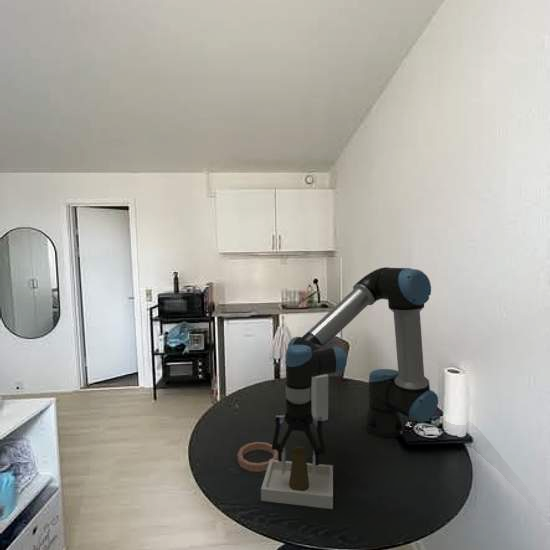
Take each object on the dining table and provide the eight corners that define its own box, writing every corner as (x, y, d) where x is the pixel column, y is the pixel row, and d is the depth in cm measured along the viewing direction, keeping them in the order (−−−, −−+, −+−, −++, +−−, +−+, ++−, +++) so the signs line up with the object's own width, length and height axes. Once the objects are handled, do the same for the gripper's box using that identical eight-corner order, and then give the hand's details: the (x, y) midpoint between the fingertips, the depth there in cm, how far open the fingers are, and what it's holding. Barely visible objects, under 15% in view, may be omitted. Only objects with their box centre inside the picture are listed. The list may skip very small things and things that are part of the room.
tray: (332, 476, 108) (332, 465, 107) (332, 509, 94) (332, 496, 94) (270, 469, 111) (270, 459, 111) (261, 500, 97) (261, 488, 97)
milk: (308, 417, 146) (308, 366, 145) (320, 413, 149) (320, 364, 148) (316, 423, 141) (316, 370, 139) (328, 419, 144) (328, 368, 142)
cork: (295, 494, 98) (296, 457, 97) (285, 481, 103) (285, 446, 103) (313, 487, 101) (313, 451, 100) (302, 475, 106) (302, 441, 105)
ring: (280, 449, 122) (280, 443, 122) (274, 473, 109) (274, 467, 109) (244, 446, 124) (244, 440, 124) (233, 469, 111) (233, 463, 111)
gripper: (335, 395, 102) (334, 468, 104) (265, 391, 106) (266, 461, 107) (335, 407, 95) (335, 485, 97) (260, 401, 99) (261, 477, 100)
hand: (298, 472), depth 102 cm, fingers open, 8 cm apart
